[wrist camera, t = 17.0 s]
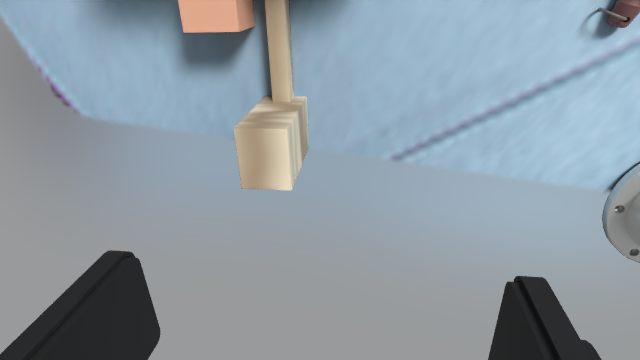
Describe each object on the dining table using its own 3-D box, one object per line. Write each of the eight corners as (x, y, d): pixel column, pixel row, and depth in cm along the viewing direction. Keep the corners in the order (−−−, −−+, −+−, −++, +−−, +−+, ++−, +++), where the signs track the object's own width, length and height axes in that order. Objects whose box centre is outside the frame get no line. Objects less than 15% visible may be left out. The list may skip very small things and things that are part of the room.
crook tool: (300, -59, 30) (274, -75, 22) (308, 147, 38) (291, 190, 30) (212, -56, 31) (156, -69, 23) (237, 145, 39) (203, 186, 31)
